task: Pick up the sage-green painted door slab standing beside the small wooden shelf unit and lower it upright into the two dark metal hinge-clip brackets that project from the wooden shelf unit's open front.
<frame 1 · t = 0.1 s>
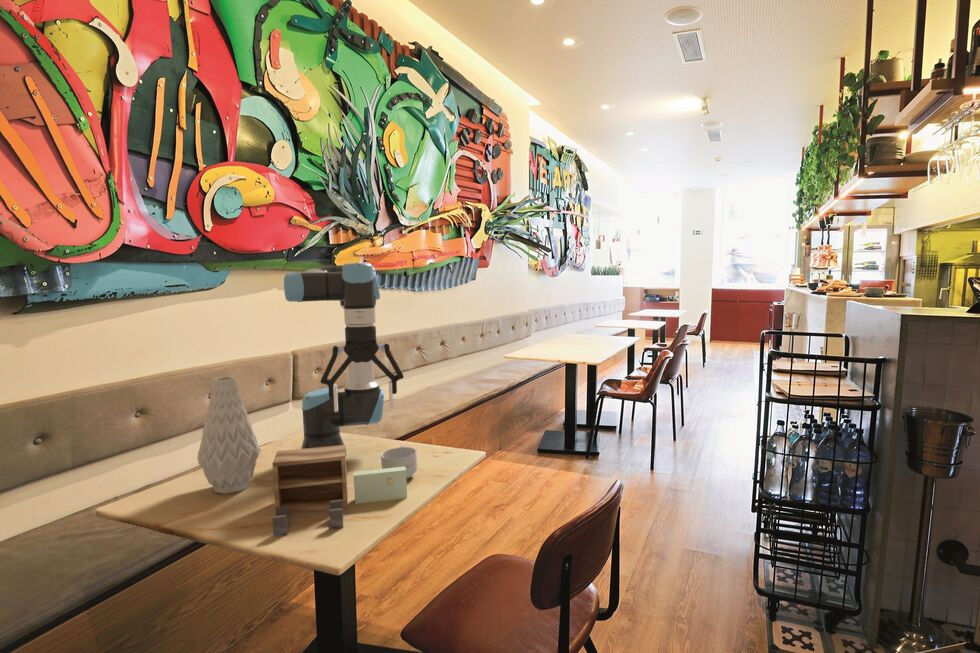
hand: (364, 408, 141), 28 cm above the table, fingers open, 13 cm apart
wooden shelf unit: (313, 503, 151), on the table
teacup: (401, 476, 170), on the table
vase: (231, 488, 163), on the table
door: (381, 499, 153), on the table
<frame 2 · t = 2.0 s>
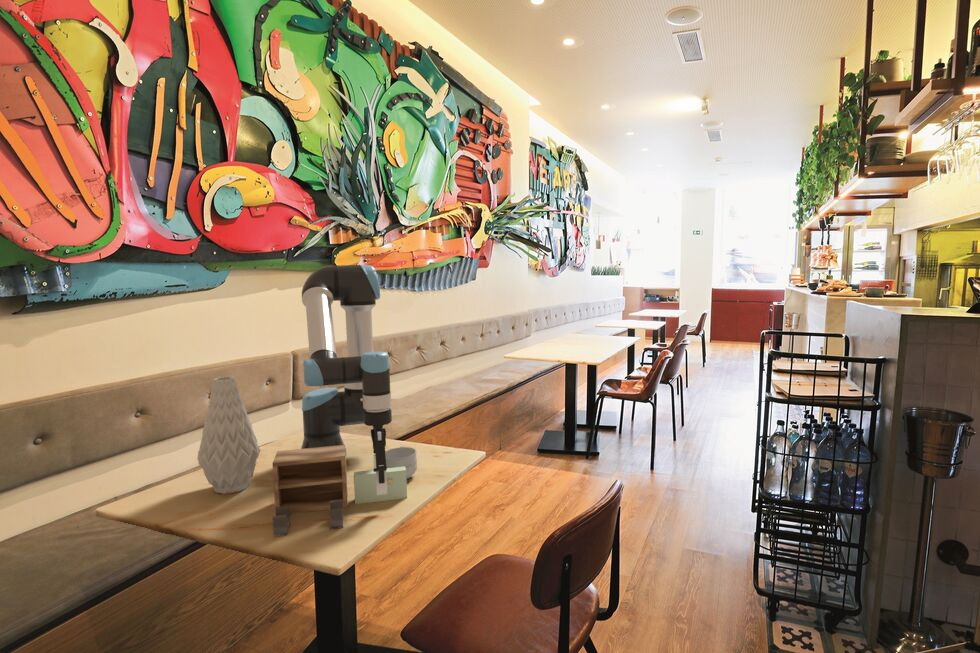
hand: (380, 485, 152), 4 cm above the table, fingers open, 13 cm apart
nothing on the table moved.
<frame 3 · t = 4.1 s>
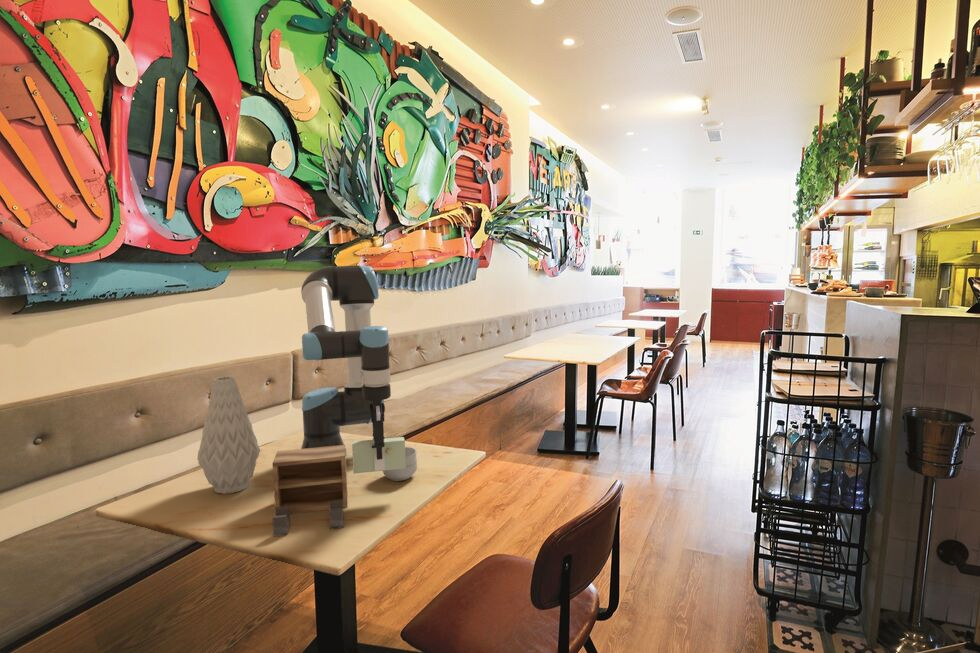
hand: (379, 466, 153), 9 cm above the table, fingers closed on door, 3 cm apart
door: (379, 468, 153), point 8 cm above the table, touching gripper
everything else where it was.
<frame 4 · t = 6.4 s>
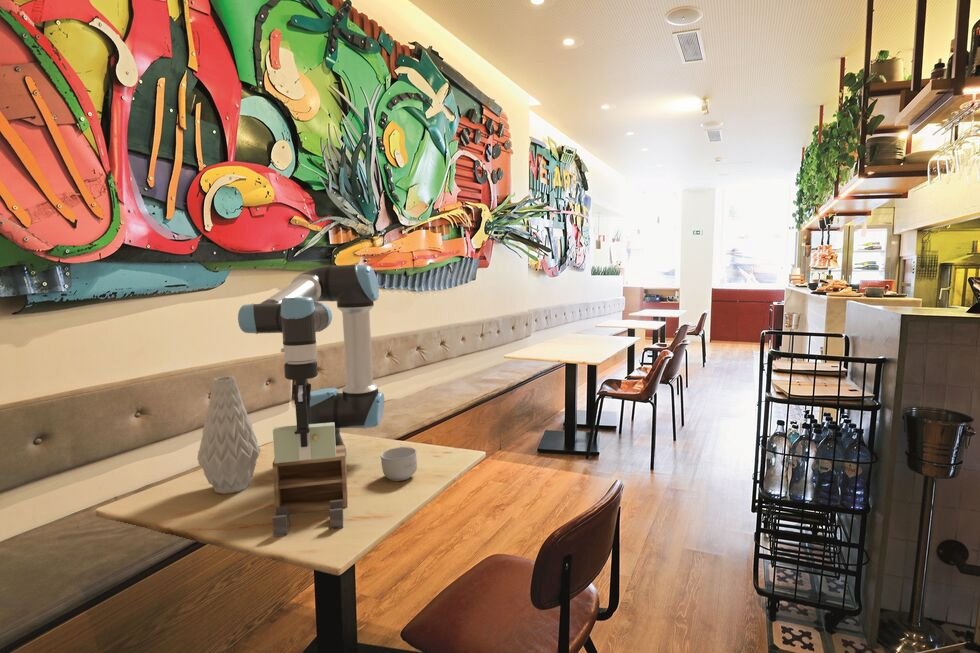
hand: (305, 456, 135), 18 cm above the table, fingers closed on door, 3 cm apart
door: (306, 458, 135), point 17 cm above the table, touching gripper
everything else where it was.
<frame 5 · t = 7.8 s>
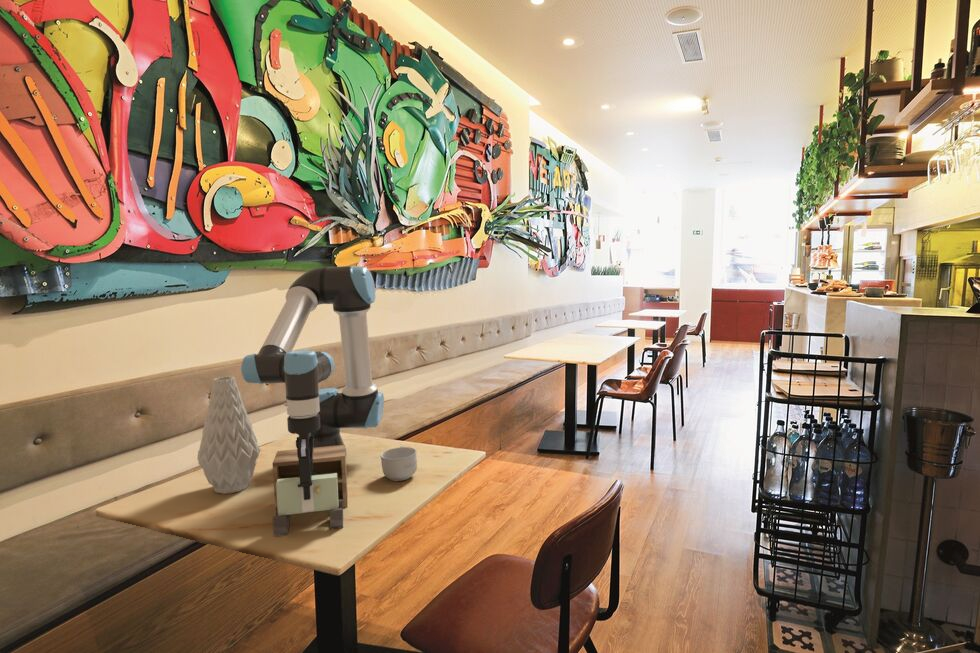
hand: (308, 507, 137), 5 cm above the table, fingers closed on door, 3 cm apart
door: (308, 509, 137), point 4 cm above the table, touching gripper
everything else where it was.
when the fingers open (1 cm above the table, at t = 9.0 s): door stays where it is, resting on wooden shelf unit.
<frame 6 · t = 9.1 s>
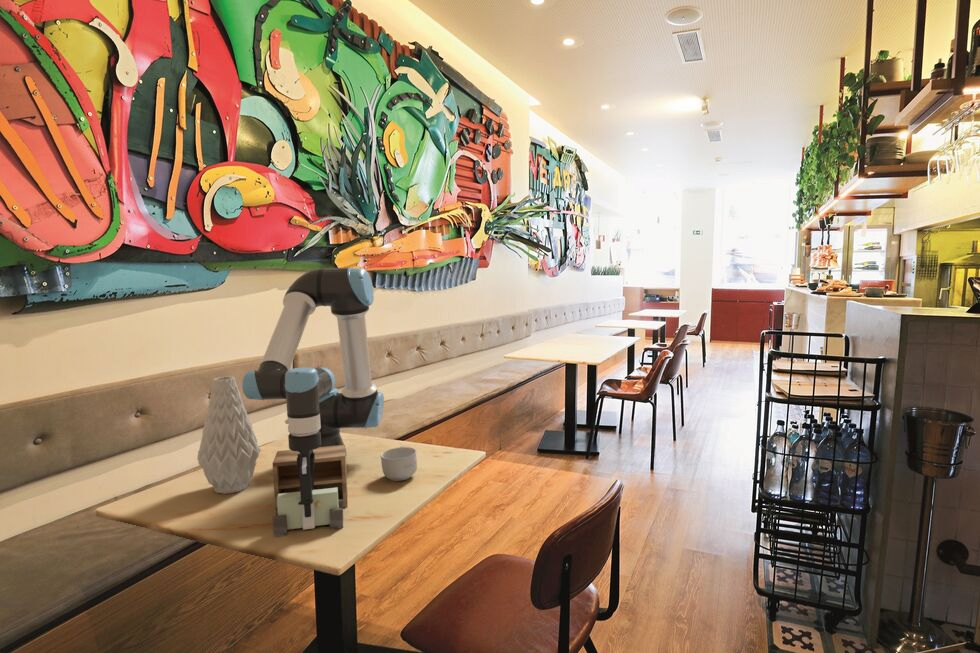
hand: (309, 524, 137), 1 cm above the table, fingers open, 3 cm apart
door: (309, 524, 137), point 1 cm above the table, touching wooden shelf unit
everything else where it was.
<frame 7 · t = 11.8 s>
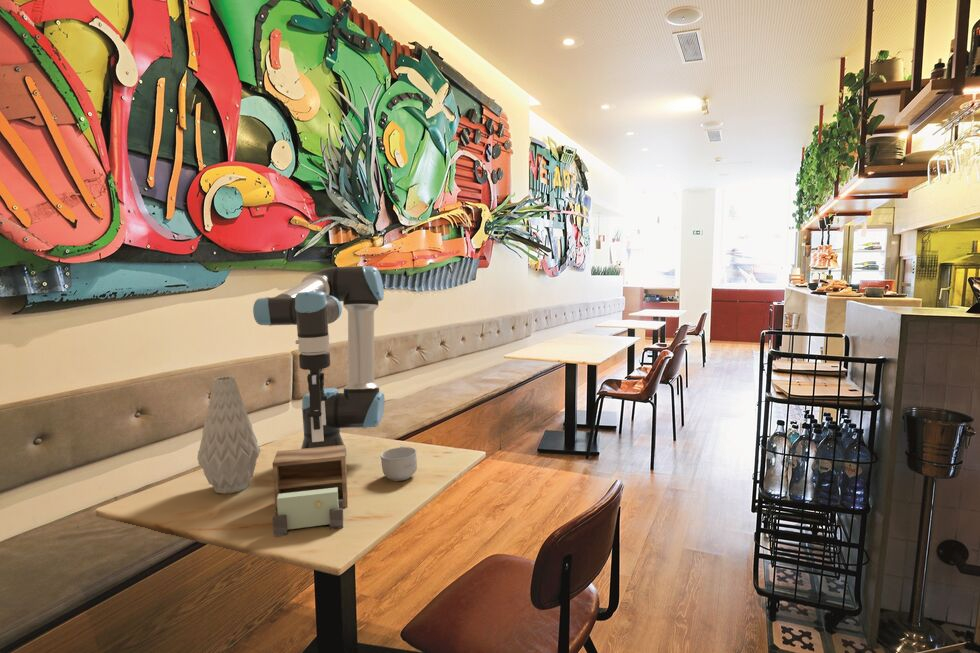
hand: (319, 432, 144), 21 cm above the table, fingers open, 13 cm apart
nothing on the table moved.
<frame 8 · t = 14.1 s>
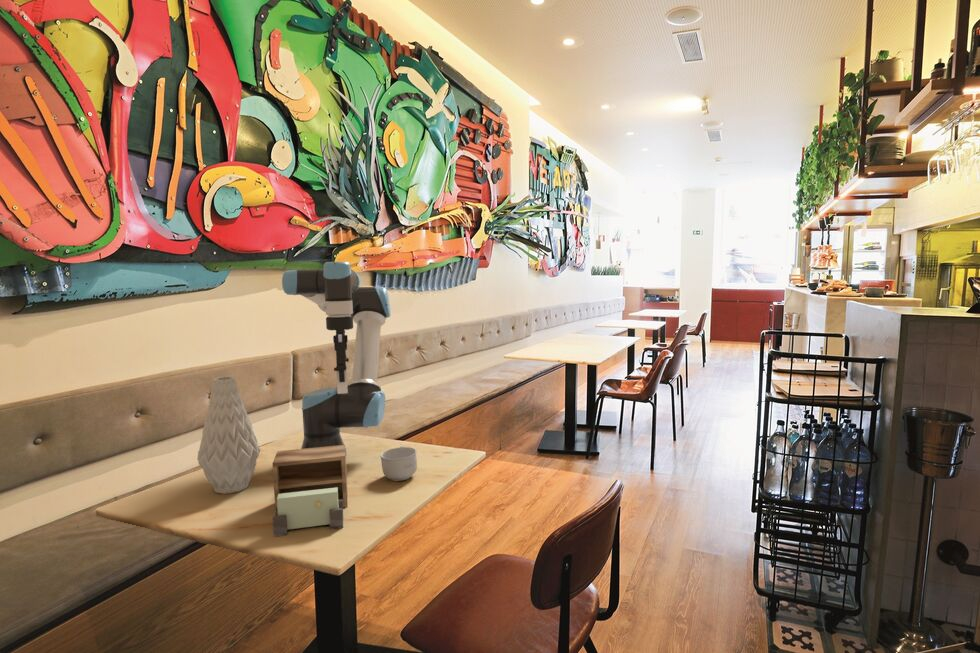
hand: (342, 388, 162), 29 cm above the table, fingers open, 13 cm apart
nothing on the table moved.
at the end: door 0.1 cm from the target spot on the wooden shelf unit, point 0.6 cm above the wooden shelf unit's base; door tilted 0°; the gripper is holding nothing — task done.
